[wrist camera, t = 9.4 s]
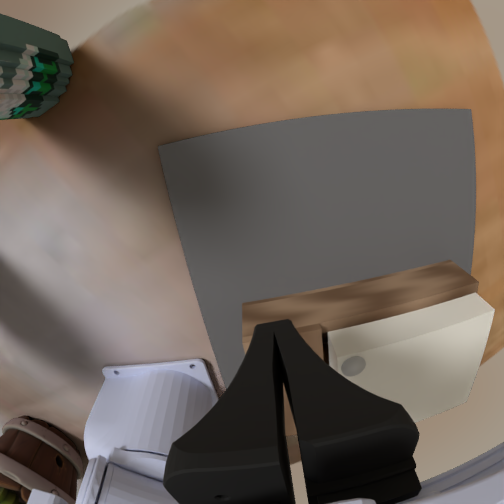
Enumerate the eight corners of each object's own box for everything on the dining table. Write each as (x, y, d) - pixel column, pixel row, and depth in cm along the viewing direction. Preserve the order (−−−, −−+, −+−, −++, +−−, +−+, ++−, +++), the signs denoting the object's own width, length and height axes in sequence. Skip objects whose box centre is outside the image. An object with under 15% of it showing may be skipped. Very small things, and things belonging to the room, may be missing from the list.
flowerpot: (5, 381, 26) (-67, 507, 8) (113, 450, 30) (79, 590, 12) (-2, 425, 30) (-49, 521, 12) (83, 479, 34) (55, 581, 16)
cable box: (264, 398, 26) (268, 438, 22) (241, 303, 22) (242, 343, 18) (436, 355, 25) (458, 386, 21) (450, 259, 22) (483, 285, 18)
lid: (331, 421, 22) (338, 446, 19) (327, 331, 18) (337, 359, 16) (453, 383, 21) (467, 403, 19) (475, 292, 18) (496, 310, 16)
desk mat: (232, 402, 27) (232, 406, 26) (159, 146, 19) (157, 146, 18) (454, 349, 26) (456, 351, 26) (467, 109, 18) (471, 109, 17)
